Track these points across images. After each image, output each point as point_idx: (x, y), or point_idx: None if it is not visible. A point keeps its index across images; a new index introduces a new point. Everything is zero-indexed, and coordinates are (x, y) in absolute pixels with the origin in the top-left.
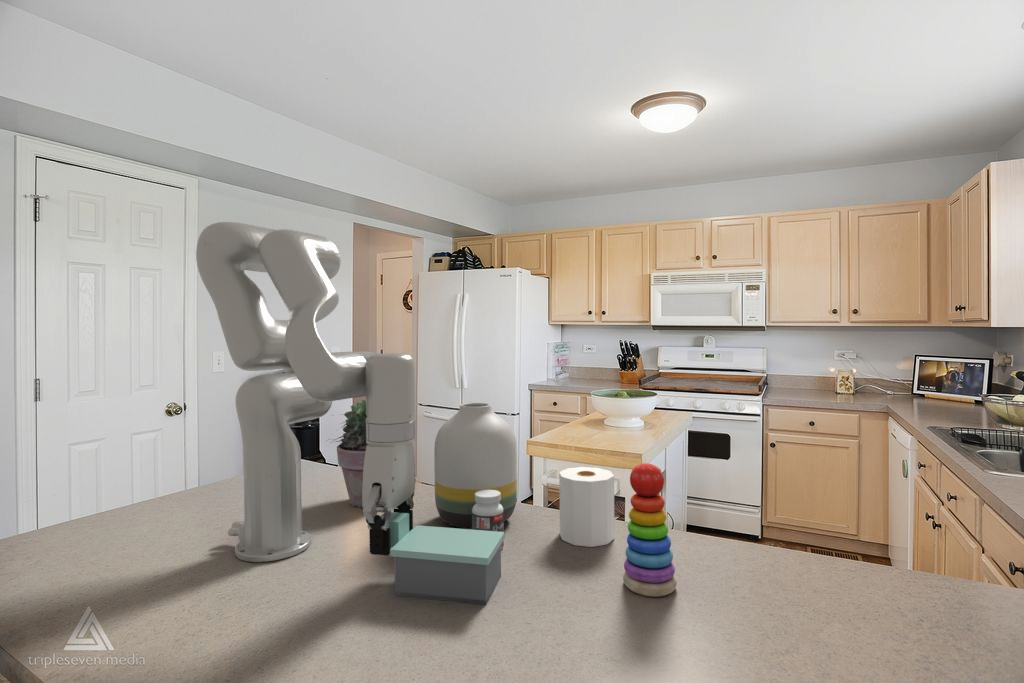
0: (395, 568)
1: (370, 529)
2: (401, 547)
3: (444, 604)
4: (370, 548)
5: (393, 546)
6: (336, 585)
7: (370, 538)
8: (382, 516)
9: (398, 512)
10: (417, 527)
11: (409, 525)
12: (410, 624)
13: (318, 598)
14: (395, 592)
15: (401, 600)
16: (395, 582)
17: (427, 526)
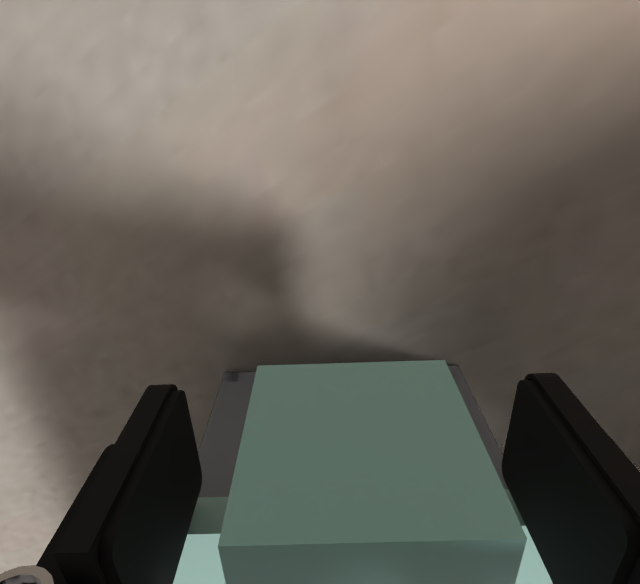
0: (199, 453)
1: (65, 543)
2: (191, 571)
3: None
4: (140, 407)
5: (187, 535)
6: (213, 73)
7: (105, 469)
8: (360, 563)
9: (607, 555)
10: (527, 540)
11: (527, 520)
12: (85, 476)
13: (62, 61)
14: (223, 378)
15: (199, 404)
16: (213, 407)
17: (546, 578)
